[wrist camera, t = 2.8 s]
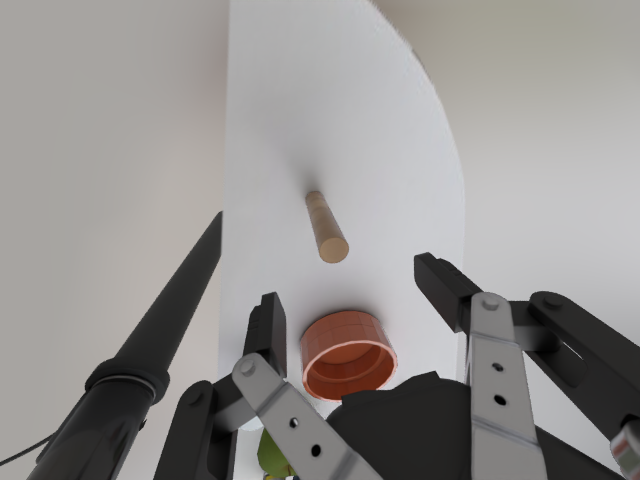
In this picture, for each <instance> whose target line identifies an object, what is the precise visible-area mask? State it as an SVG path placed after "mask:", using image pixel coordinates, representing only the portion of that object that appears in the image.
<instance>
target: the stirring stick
mask: <svg viewBox="0 0 640 480" xmlns="http://www.w3.org/2000/svg"><path fill="white" fill-rule="evenodd" d="M306 205H307V209H308V213H309V217H310V220H311V224H312V228H313V232H314V236H315V240H316V243H317V247H318V251H319V255H320V257H321V258H322V260H324V261H325V262H327V263H338V262H340V261H342V260H343V259H344V258H345V257H346V256H347V254H348V251H349V246H348V243H347V241H346V239H345V238H344V236H343V234H342V232H341V230H340V228H339V226H338V224H337V222H336V220H335V218H334V216H333V214H332V212H331V210H330V208H329V206H328V204H327V203H326V201H325V199H324V197H323V195H322V194H321V193H320V192H317V191H314V192H311V193H309V194H308V195H307V197H306Z"/></svg>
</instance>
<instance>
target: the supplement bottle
mask: <svg viewBox="0 0 640 480" xmlns="http://www.w3.org/2000/svg"><path fill="white" fill-rule="evenodd" d="M263 480H285V477H273V476H271V475H269V474H268V473H266V472H265V474H264V478H263Z"/></svg>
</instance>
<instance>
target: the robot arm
mask: <svg viewBox="0 0 640 480" xmlns="http://www.w3.org/2000/svg"><path fill="white" fill-rule="evenodd" d="M414 278H415V282H416V284H417V286H418V288H419V289H420V290H421V292H422V293H423V294H424V295H425V297H426V298H427V299H428V300H429V302H430V303H431V304H432V305H433V307H434V308H435V309H436V310H437V312H438V313H439V314H440V315H441V317H442V318H443V319H444V321H445V322H446V323H447V324H448V326H449V327H450V328H451V329H452V331H453V332H454V333H458V332H461V331H463V332H464V333H465V334H466V335H467V336H466V353H465V376H464V384H463V383H461V382H458V381H454V380H450V379H443V378H439V376H438V374H437V373H436V371H432V372H428V373H425V374H421V375H417V376H413V377H411V378H410V379H408V380H406V381H405V382H403V383H402V384H400V385H398V386H397V387H395V388H394V389H392V390H362V391H358V392H354V393H351V394H347V395H343V396H341V400H342V405H340V406H339V407H337V408H336V409H335V410H334V411H333V412H332V413H331V414H330V415H329V416H328V417H327V419H326V420H324V419H323V418H322V417H321V416H320V414H319V413H318V412H317V411H316V410H315V409H314V408H313V407H312V406H311V405H310V404H309V403H308V402H307V401H306V400H305V399H304V397H303V396H302V395H301V394H300V393H299V392H298V391H297V390H296V389H295V388H294V387H293V386H292V385H291V384H290V383H289V382H285V381H284V380H283V378H287V362H286V316H285V312H284V309H283V307H282V304H281V302H280V299H279V297H278V295H277V293H276V292H272V293H268V294H264V295H262V300H261V305H259V306H255V307H254V309H253V311H252V312H251V314H250V318H249V324H248V331H247V334H246V340H245V346H244V351H243V356H242V358H241V359H240V360H239V361H238V362H237V363H236V364H235V366H234V368H233V371H232V373H230V374H229V375H227V376H226V377H224V378H222V379H221V380H219V381H217V382H216V383H214V384H211V383H210V382H209V381H206V380H202V381H199V382H196V383H195V384H193V385H192V386H190V387H189V388H188V389H187V390H186V391H185V392H184V393H183V395H182V396H181V398H180V400H179V402H178V405H177V408H176V411H175V414H174V417H173V420H172V423H171V426H170V429H169V433H168V435H167V438H166V442H165V445H164V448H163V451H162V454H161V457H160V460H159V463H158V466H157V469H156V472H155V475H154V478H153V480H233V472H234V463H235V453H236V443H237V433H238V428H239V427H241V426H242V425H244V424H245V423H247V422H248V421H250V420H251V419H253V418H254V417H256V416H258V418H259V419H260V421H261V422H262V424H263V425H264V427H265V428H266V430H267V431H268V433H269V434H270V436H271V437H272V438H273V440H274V441H275V443H276V444H277V446H278V447H279V449H280V450H281V452H282V453H283V455H284V456H285V458H286V459H287V461H288V462H289V463H290V465H291V466H292V468H293V469H294V471H295V472H296V474H297V475H298V477H299V478H300V479H299V480H640V347H639V346H637V345H636V344H634V343H633V342H631V341H630V340H628V339H627V338H626V337H624V336H623V335H621V334H620V333H618V332H617V331H615V330H614V329H612V328H611V327H609V326H608V325H607V324H605V323H604V322H602V321H601V320H599V319H598V318H596V317H595V316H593V315H592V314H590V313H589V312H587V311H586V310H585V309H583V308H582V307H580V306H579V305H577V304H576V303H574V302H573V301H571V300H570V299H568V298H567V297H565V296H562V295H560V294H557V293H553V292H548V291H539V292H535V293H533V294H532V295H531V297H530V300H529V301H507V300H506V299H505V298H503V297H501V296H500V295H497V294H494V293H490V292H484V291H482V290H481V289H480V288H479V287H478V286H477V285H475V284H474V283H473V282H472V281H471V280H470V279H469V278H467V277H466V276H465V275H464V274H462V272H461V271H459V270H457V268H456V267H455V266H454V265H452V264H451V263H450V262H448V261H446V260H443V259H441V258H440V259H436V258H435V257H434V256H433V255H432V254H431V253H429V252H426V253H423V254H419V255H415V256H414ZM563 342H565V343H566V344H567V345H568V346H569V347H570V348H571V349H573V350H574V351H575V352H576V353H577V354H578V355H579V356H581V358H582V359H581V358H580V357H579V356H578V355H577V354H576V353H575V352H573V351H572V350H571V349H570V348H569V347H568V346H566V345H565V344H564V343H563ZM522 350H523V351H525V353H526V354H527V355H528V356H529V357H530V358H531V359H532V360H533V361H534V362H535V363H536V364H537V365H538V366H539V367H540V368H541V369H542V370H543V372H544V373H545V374H546V375H547V376H548V377H549V378H550V379H551V380H552V381H553V382H554V383H555V384H556V385H557V386H558V387H559V388H560V389H561V390H562V391H563V392H564V394H565V395H566V396H567V397H568V398H569V399H570V400H571V401H572V402H573V403H574V404H575V405H576V406H577V407H578V408H579V409H580V410H581V412H582V413H583V414H584V415H585V416H586V417H587V418H588V419H589V420H590V421H591V422H592V423H593V424H594V425H595V426H596V427H597V428H598V429H599V430H600V432H601V433H602V434H603V435H604V436H605V437H606V438H607V439H608V440H609V441H610V450H611V453H612V455H613V458H614V459H615V461H616V462H617V464H618V465H619V466H620V470H621V472H622V474H623V475H624V477H625V478H626V479H625V478H624V477H622V476H621V475H619V474H618V473H616V472H614V471H612V470H610V469H609V468H607V467H606V466H604V465H602V464H601V463H599V462H597V461H595V460H594V459H592V458H590V457H589V456H587V455H585V454H584V453H582V452H580V451H579V450H577V449H575V448H573V447H572V446H570V445H568V444H567V443H565V442H563V441H562V440H560V439H558V438H557V437H555V436H553V435H551V434H550V433H548V432H546V431H545V430H543V429H541V428H540V427H538V426H536V425H535V424H534V420H533V413H532V408H531V401H530V395H529V389H528V383H527V377H526V371H525V365H524V359H523V353H522ZM156 395H157V389H156V387H155V385H154V384H153V383H152V382H151V381H149V380H148V379H146V378H144V377H141V376H138V375H134V374H126V373H118V374H111V375H107V376H104V377H102V378H100V379H99V380H97V381H96V382H95V384H94V385H93V386H92V387H89V388H88V389H87V390H86V392H85V393H84V394H83V396H82V397H81V398H80V400H79V402H78V403H77V404H76V405H75V407H74V408H73V409H72V411H71V412H70V414H69V415H68V416H67V418H66V419H65V420H64V422H63V423H62V424H61V426H60V427H59V429H58V430H57V431H56V432H54V433H53V434H51V435H50V436H48V437H47V438H45V439H43V440H42V441H40V442H38V443H36V444H35V445H33V446H31V447H29V448H27V449H25V450H24V451H22V452H20V453H18V454H16V455H14V456H12V457H9V458H7V459H5V460H3V461H1V462H0V466H2V465H4V464H6V463H9V462H11V461H13V460H15V459H17V458H19V457H21V456H23V455H25V454H27V453H29V452H31V451H32V450H34V449H36V448H38V447H40V446H41V445H43V444H45V443H46V442H48V441H49V442H48V444H47V445H46V446H45V447H44V449H43V450H42V452H41V453H40V455H39V456H38V457H37V459H36V464H37V466H36V467H35V468H34V470H33V471H32V472H31V474H30V475H29V477H28V478H27V480H116V478H117V476H118V474H119V472H120V470H121V468H122V466H123V464H124V461H125V459H126V457H127V455H128V453H129V451H130V449H131V446H132V444H133V442H134V440H135V438H136V436H137V434H138V432H139V431H140V430H141V429H142V428H143V427H144V425H145V422H146V420H145V421H144V419H145V417H146V414H147V412H148V410H149V408H150V406H151V404H152V402H153V401H154V399H155V397H156ZM143 421H144V422H143Z"/></svg>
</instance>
